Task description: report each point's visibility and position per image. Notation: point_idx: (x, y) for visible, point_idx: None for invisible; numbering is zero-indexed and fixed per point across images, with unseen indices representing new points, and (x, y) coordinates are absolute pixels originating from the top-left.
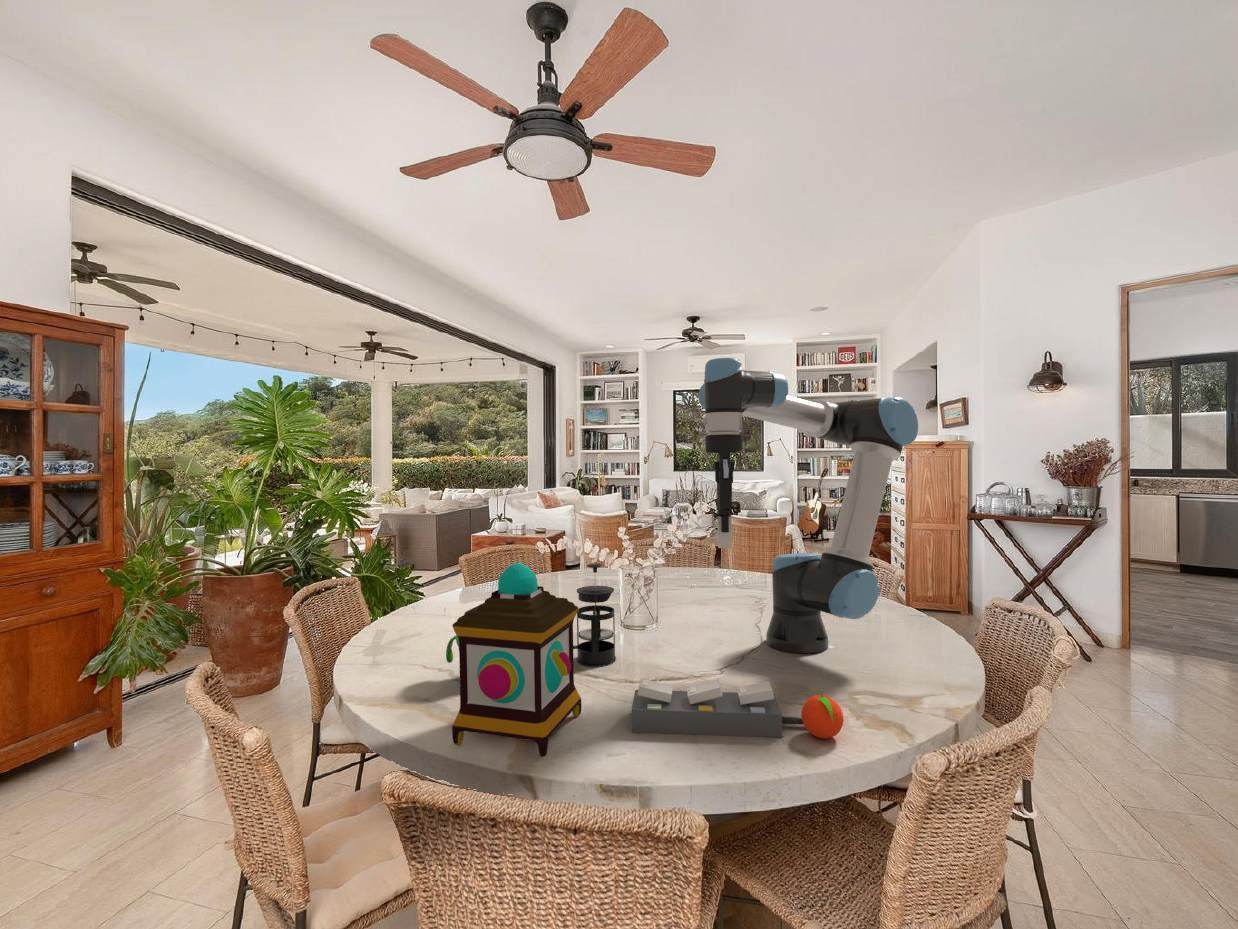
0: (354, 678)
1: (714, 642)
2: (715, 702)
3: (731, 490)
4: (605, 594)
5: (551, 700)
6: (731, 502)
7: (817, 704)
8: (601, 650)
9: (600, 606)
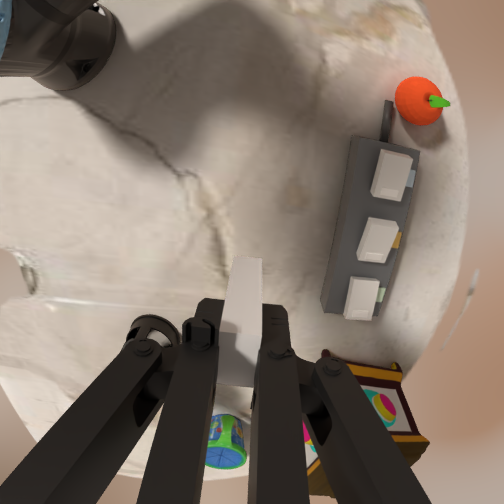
0: (224, 475)
1: (65, 171)
2: None
3: (414, 476)
4: None
5: (377, 387)
6: (374, 412)
7: (438, 112)
8: (131, 331)
9: None
